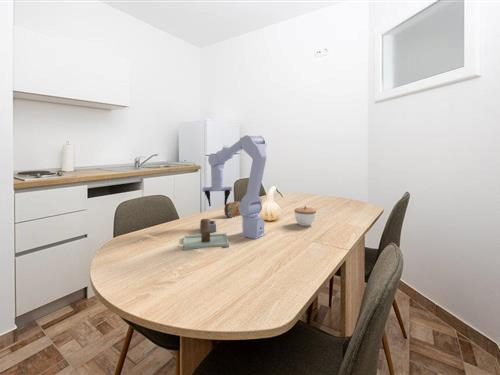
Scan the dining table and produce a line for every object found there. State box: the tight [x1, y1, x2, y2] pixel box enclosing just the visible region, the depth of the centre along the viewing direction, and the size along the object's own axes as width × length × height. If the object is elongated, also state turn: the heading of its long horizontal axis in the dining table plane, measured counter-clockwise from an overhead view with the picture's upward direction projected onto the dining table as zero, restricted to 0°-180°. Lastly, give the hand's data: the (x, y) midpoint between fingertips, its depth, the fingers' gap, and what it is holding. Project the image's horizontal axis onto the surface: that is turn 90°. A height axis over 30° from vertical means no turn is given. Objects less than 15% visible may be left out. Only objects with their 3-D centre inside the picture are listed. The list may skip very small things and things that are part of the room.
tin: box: [223, 200, 241, 219], centre depth 164 cm, size 15×3×8 cm, turn 143°
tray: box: [182, 233, 230, 251], centre depth 118 cm, size 18×13×2 cm
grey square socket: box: [199, 220, 217, 234], centre depth 134 cm, size 7×7×4 cm
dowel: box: [200, 218, 211, 242], centre depth 118 cm, size 4×4×9 cm
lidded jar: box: [294, 206, 317, 227], centre depth 145 cm, size 11×11×9 cm
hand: (217, 205), depth 142 cm, fingers open, 7 cm apart
